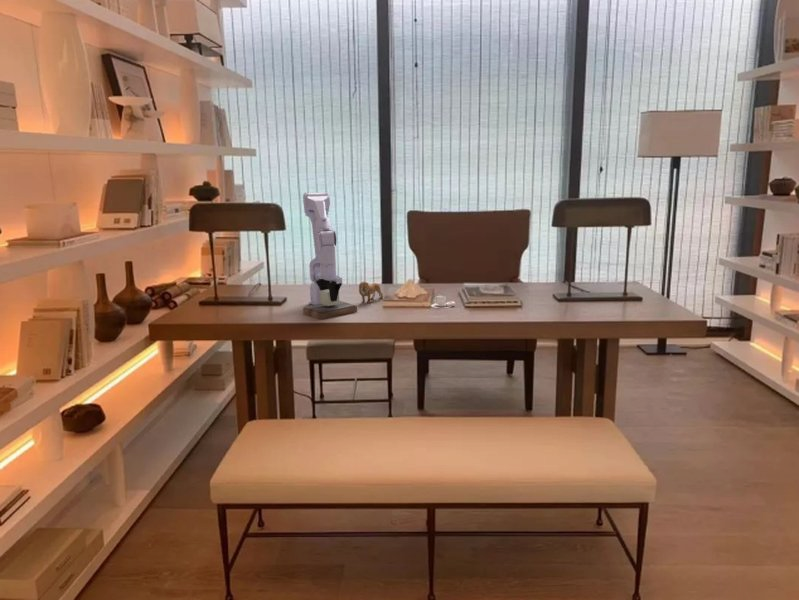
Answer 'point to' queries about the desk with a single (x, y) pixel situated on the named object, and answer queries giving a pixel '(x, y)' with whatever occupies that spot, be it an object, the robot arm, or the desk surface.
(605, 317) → the desk surface
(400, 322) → the desk surface
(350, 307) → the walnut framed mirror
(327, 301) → the sage block
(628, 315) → the desk surface
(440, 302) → the teacup and saucer
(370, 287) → the lion figurine
